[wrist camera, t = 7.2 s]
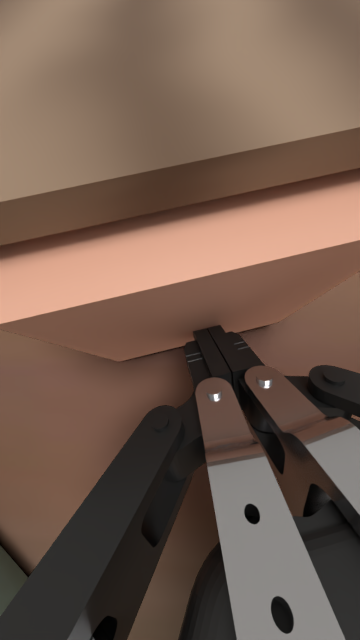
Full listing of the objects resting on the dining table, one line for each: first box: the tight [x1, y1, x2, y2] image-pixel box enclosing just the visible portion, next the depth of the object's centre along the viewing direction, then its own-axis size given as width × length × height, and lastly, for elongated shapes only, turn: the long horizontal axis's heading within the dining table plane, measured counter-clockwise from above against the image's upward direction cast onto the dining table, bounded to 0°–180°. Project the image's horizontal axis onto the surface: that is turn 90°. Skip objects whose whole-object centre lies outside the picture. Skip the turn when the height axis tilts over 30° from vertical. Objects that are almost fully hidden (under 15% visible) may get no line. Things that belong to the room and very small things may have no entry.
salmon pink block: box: [0, 168, 360, 362], centre depth 11 cm, size 12×10×9 cm
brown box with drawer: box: [0, 0, 360, 246], centre depth 12 cm, size 16×12×12 cm
